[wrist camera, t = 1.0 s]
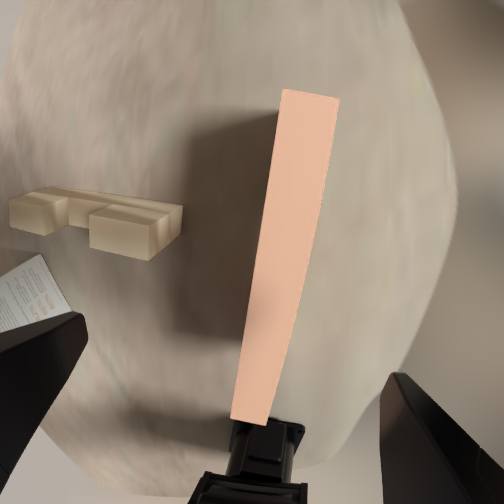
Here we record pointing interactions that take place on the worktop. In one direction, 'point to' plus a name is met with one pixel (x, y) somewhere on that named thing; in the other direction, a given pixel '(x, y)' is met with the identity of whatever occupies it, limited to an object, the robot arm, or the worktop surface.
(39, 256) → the small box
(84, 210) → the birch notched block
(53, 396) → the robot arm
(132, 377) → the worktop surface
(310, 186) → the terracotta plate
